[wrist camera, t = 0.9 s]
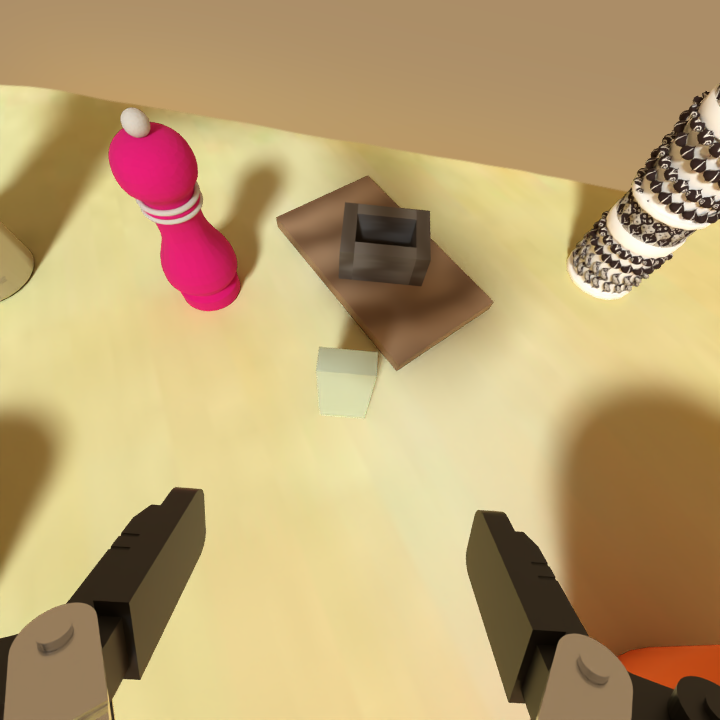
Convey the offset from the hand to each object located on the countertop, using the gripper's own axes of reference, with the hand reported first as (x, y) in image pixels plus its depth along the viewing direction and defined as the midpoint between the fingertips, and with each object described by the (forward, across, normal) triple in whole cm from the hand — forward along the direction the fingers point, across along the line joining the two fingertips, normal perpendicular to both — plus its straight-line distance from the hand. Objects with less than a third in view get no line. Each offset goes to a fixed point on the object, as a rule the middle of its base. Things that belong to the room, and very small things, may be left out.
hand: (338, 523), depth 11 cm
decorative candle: (+41, -31, -6) cm, 51 cm away
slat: (+26, 0, +9) cm, 27 cm away
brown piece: (+39, -3, -4) cm, 39 cm away
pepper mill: (+35, +16, 0) cm, 38 cm away
